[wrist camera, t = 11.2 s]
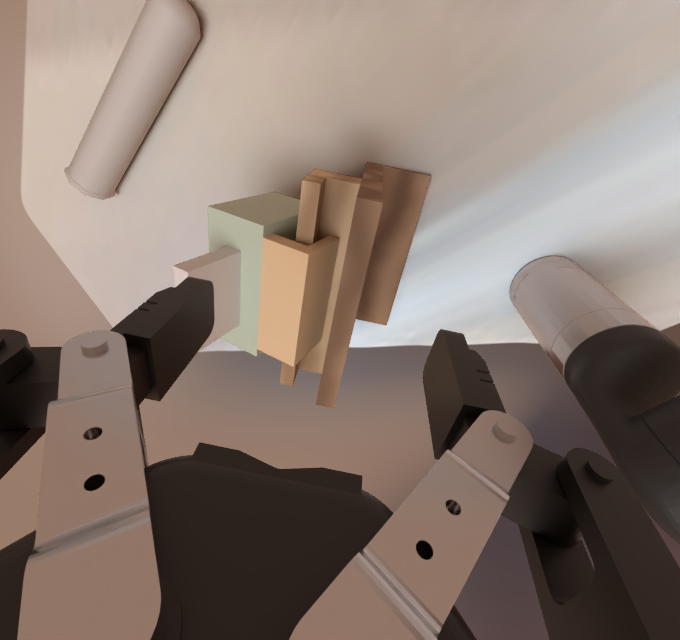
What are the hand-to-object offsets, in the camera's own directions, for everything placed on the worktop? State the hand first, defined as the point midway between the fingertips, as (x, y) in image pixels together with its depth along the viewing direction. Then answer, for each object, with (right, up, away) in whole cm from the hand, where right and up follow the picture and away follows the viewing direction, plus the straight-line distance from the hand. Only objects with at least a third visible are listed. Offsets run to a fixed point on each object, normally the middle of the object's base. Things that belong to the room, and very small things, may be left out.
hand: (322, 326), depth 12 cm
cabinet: (-3, +7, +28) cm, 29 cm away
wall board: (+3, +10, +36) cm, 37 cm away
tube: (-23, +27, +30) cm, 46 cm away
